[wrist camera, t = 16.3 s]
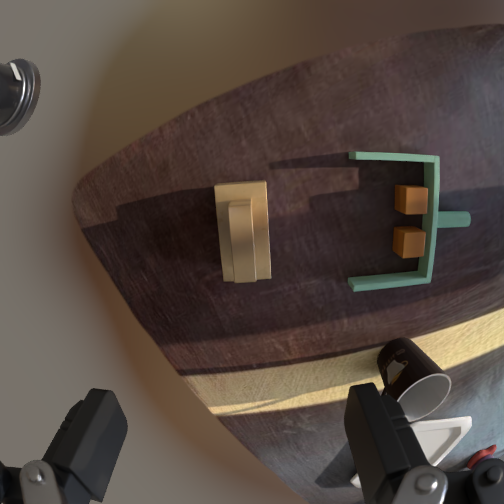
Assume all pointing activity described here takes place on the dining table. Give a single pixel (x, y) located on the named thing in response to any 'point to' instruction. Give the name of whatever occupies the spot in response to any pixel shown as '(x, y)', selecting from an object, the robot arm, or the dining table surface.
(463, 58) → the dining table surface
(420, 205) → the crumb
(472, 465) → the stacking bear
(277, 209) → the dining table surface
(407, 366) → the coffee mug
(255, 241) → the stepped wooden block
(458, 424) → the plate
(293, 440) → the dining table surface
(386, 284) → the green u-shaped pusher
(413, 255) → the crumb
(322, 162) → the dining table surface
